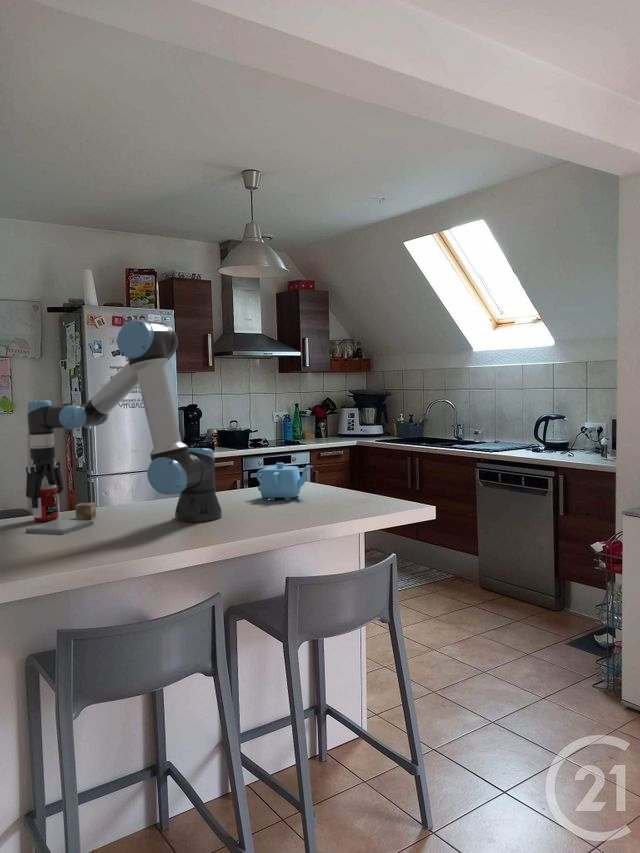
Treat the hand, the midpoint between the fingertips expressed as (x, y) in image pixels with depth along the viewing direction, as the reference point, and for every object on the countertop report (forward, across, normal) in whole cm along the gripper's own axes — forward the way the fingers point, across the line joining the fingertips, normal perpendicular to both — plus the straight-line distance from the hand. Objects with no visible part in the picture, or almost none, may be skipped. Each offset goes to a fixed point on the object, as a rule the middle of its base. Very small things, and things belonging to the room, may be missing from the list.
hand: (46, 514), depth 222 cm
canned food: (+1, 0, 0) cm, 2 cm away
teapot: (+3, -53, +65) cm, 84 cm away
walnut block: (+2, -5, +12) cm, 13 cm away
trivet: (+2, +10, +14) cm, 17 cm away
